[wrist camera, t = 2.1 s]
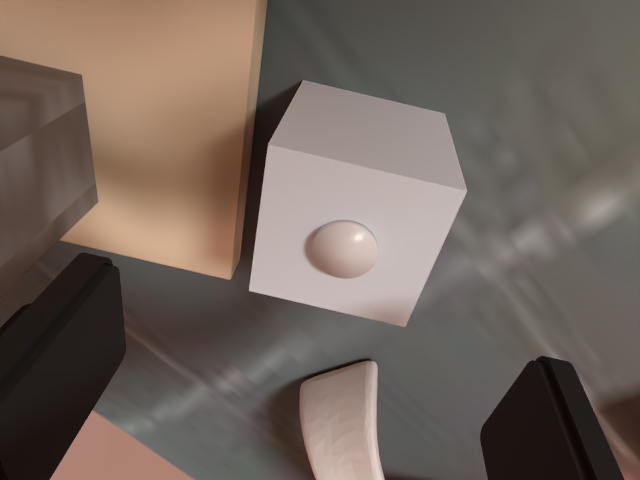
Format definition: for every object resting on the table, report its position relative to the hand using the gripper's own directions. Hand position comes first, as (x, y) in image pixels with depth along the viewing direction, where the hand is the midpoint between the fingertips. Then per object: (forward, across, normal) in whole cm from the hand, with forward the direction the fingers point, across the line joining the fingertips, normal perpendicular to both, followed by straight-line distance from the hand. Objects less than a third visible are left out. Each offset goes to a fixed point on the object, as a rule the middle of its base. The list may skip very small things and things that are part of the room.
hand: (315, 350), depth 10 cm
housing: (+9, 0, -1) cm, 9 cm away
